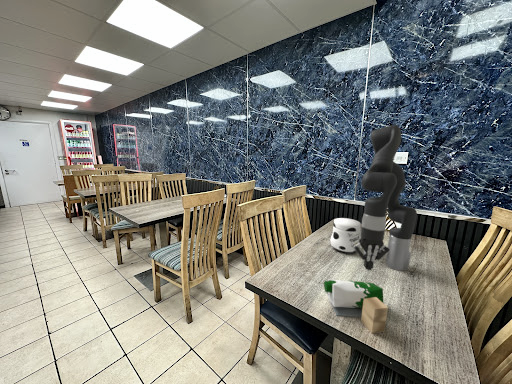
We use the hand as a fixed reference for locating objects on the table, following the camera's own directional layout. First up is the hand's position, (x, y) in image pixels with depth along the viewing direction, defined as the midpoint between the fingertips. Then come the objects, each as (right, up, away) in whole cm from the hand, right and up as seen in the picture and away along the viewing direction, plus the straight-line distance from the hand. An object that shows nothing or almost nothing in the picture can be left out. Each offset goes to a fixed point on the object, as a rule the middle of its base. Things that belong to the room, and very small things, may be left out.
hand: (367, 268), depth 76 cm
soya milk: (+4, -10, 0) cm, 11 cm away
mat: (-5, -15, +3) cm, 16 cm away
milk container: (+13, -7, +50) cm, 52 cm away
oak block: (-3, -17, -8) cm, 19 cm away
